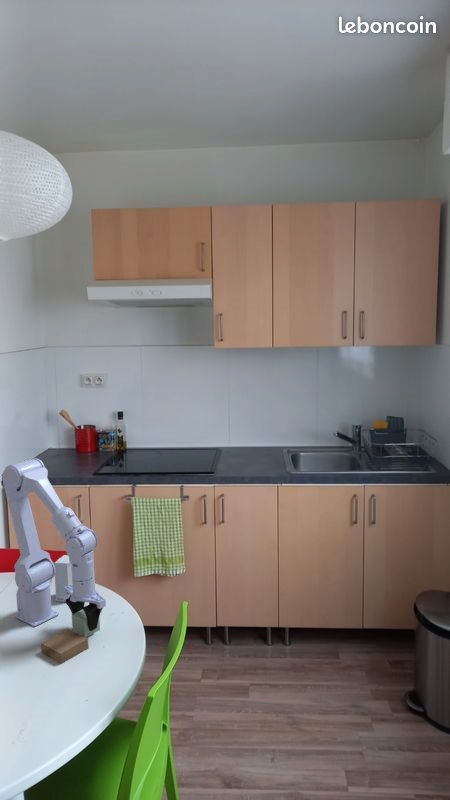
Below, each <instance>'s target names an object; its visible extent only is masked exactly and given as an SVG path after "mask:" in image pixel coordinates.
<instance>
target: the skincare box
mask: <svg viewBox="0 0 450 800" xmlns="http://www.w3.org/2000/svg"><path fill="white" fill-rule="evenodd" d="M53 563H54V566H55V570H56V571H55V576H54V583H55V585H54V587H55V602H59V603H60V602H61V603H62V602H63V603H65V600H66V599H68V598H69V597H70V594H68V595H66V594H64V587H66V586H68V585H72V569H71V563H70V561H69V556H68V554H67V555H65V554H63V555H62V556H60V557H59V558H58V559H57V560H56V561H55V562H53Z"/></svg>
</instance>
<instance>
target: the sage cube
mask: <svg viewBox="0 0 450 800" xmlns="http://www.w3.org/2000/svg"><path fill="white" fill-rule="evenodd" d="M71 625H72V626H71V628H72V631H73V632H75V633H77V634H80V635H82V636H84V637H86V638H88V637H90V636H92V635H94V634H95V633H97V632H99V631H100V630H101V621H100V618H99V620H98V624H97V628H96V629H94V630H92V631H89V628H88V622H87V617H86V614H85V612H84V610H83V609H82V610H80V611H78V612H76V613H74V614H72V613H71Z"/></svg>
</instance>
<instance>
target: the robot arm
mask: <svg viewBox="0 0 450 800" xmlns="http://www.w3.org/2000/svg"><path fill="white" fill-rule="evenodd" d="M48 472H49V471H48V469H47V468H46V467H45V464H44V462H43V461H42V460H41V459H40V458H36V457H35V458H31V459H28V460H25V461H22V462H18V463H14V464H8V465H7V466H6V467H5V468H4V470H3V472H2V474H1V478H2V479H1V480H2V484H3V487H4V491H5V496H6V500H7V504H8V508H9V511H10V516H11V520H12V521H11V522H12V524H13V529H14V533H15V537H16V540H17V544H18V549H19V554H20V556H19V558H18V559H17V561H16V562H15V564H14V566H13V567H14V572H15V573H14V580H15V585H16V586H17V590H16V608H17V613H16V614H14V617H15V618H17V619H19V620H20V621H22V622H24V623H26V624H28V625H29V626H32V627H37V626H39V625H41V624H43V623H45V622H47V621H49V620H51V619H53V618H56V617H57V616H59V612H57V611H55V610H53V609H52V596H51V584H52V582H53V578H55V571H56V570H55V566H54V563H55V562H53V560H52V559H51V556H50V553H49V552H47V551H45V550H43V549H42V548H41V544H40V540H39V539H40V538H39V536H38V531H37V526H36V524H35V519H34V515H33V511H32V507H31V502H30V499H29V493H30V492H31V493H34V494H35V495H36V496H37V498H39V500H40V501H41V502H42V503H43V504H44V506H46V509H48V510H49V512H50V513H51V514H52V517H51V518H52V519H51V523H52V524H53V525H54V526H55V528H56V530H57V531H58V532H59V534H60V535H61V537H62V538H63V540H64V541H65V542H66V543H65V545H64V549H65V552H66V554H67V555H68V556H69V561H70V563H71V569H72V585H68V586H66V587H64V594H66V595H68V594H70V597H69V598H68V599H66V600H65V602H64V603H65V604H66V605H67V607H68V608H69V610H70V613H71V615H72V614H74V613H76V612H78V611H80V610H82V609H83V610H84V612H85V614H86V617H87V622H88V628H89V631H92V630H94V629H96V628H97V624H98V620H99V619H100V616H101V613H102V610H103V608H105V607H106V606H107V605H106V604H107V601H106V598H104V597H103V596H101V594H100V593H99V592H98V591H97V589H96V580H95V579H96V578H95V577H96V576H95V560H94V557H95V556H94V550H95V549H96V548H97V545H98V537H97V535H96V533H95V531H94V530H92V529H91V528H89V527H87V526H86V525H84V524H82V522H81V520H80V519H79V518H78V517H77V515H76V513H75V512H74V511H73V509H72V508H71V507H67V506H64V505H63V503H62V501H61V499H60V497H59V495H58V494H57V492H56V491H55V489H54V487H53V485H52V484H51V482H50V480H49V478H48V477H49V476H48V474H49V473H48ZM85 603H88V604H87V605H85Z"/></svg>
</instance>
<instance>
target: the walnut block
mask: <svg viewBox="0 0 450 800" xmlns="http://www.w3.org/2000/svg"><path fill="white" fill-rule="evenodd" d="M40 646H41V654H43V655H45V656H47V657H49V658H50V659H52V660H54V661H56V662H57V663H59V664H61V665H62V664H65V663H66V662H67V661H69V660H71V659H73V658H74V657H76V656H78V655H80V654H82V653H84V652H85V651H87V650H89V638H88V637H87V638H86V637H84V636H82V635H80V634H77V633H75V632H73V630H71V629H69V628H66V629H64V630H63V631H61V632H59V633H58V634H56V635H53V636H52V637H49V638H48V639H46V640H44V641H42V642H41V644H40Z"/></svg>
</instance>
